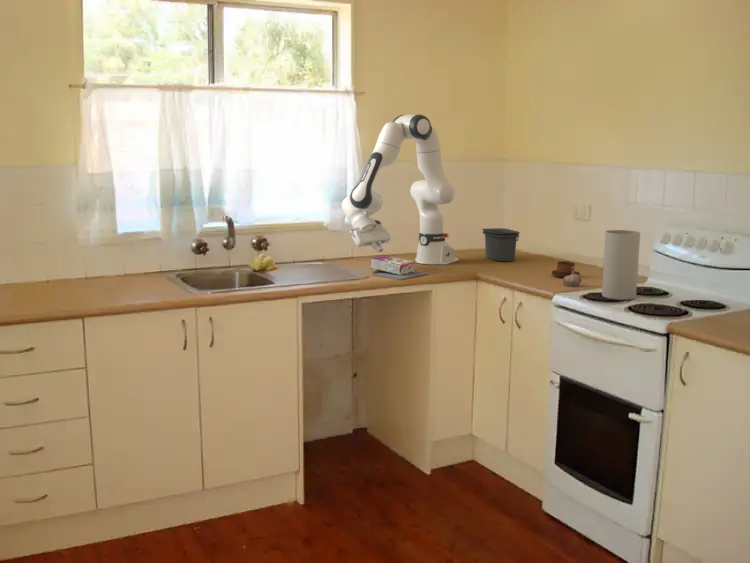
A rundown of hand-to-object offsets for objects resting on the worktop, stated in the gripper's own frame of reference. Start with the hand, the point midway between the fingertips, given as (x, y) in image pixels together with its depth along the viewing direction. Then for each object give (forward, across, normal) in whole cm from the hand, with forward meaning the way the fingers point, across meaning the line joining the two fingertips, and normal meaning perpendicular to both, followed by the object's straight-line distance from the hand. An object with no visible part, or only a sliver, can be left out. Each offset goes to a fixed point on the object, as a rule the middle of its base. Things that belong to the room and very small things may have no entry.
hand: (380, 251), depth 361 cm
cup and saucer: (+53, +48, -39) cm, 81 cm away
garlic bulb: (+62, +31, -48) cm, 84 cm away
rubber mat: (+15, 0, -2) cm, 15 cm away
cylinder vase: (+80, +22, -66) cm, 106 cm away
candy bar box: (+2, 0, +5) cm, 5 cm away
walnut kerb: (+8, 0, +5) cm, 10 cm away
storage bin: (+19, +69, -6) cm, 72 cm away
